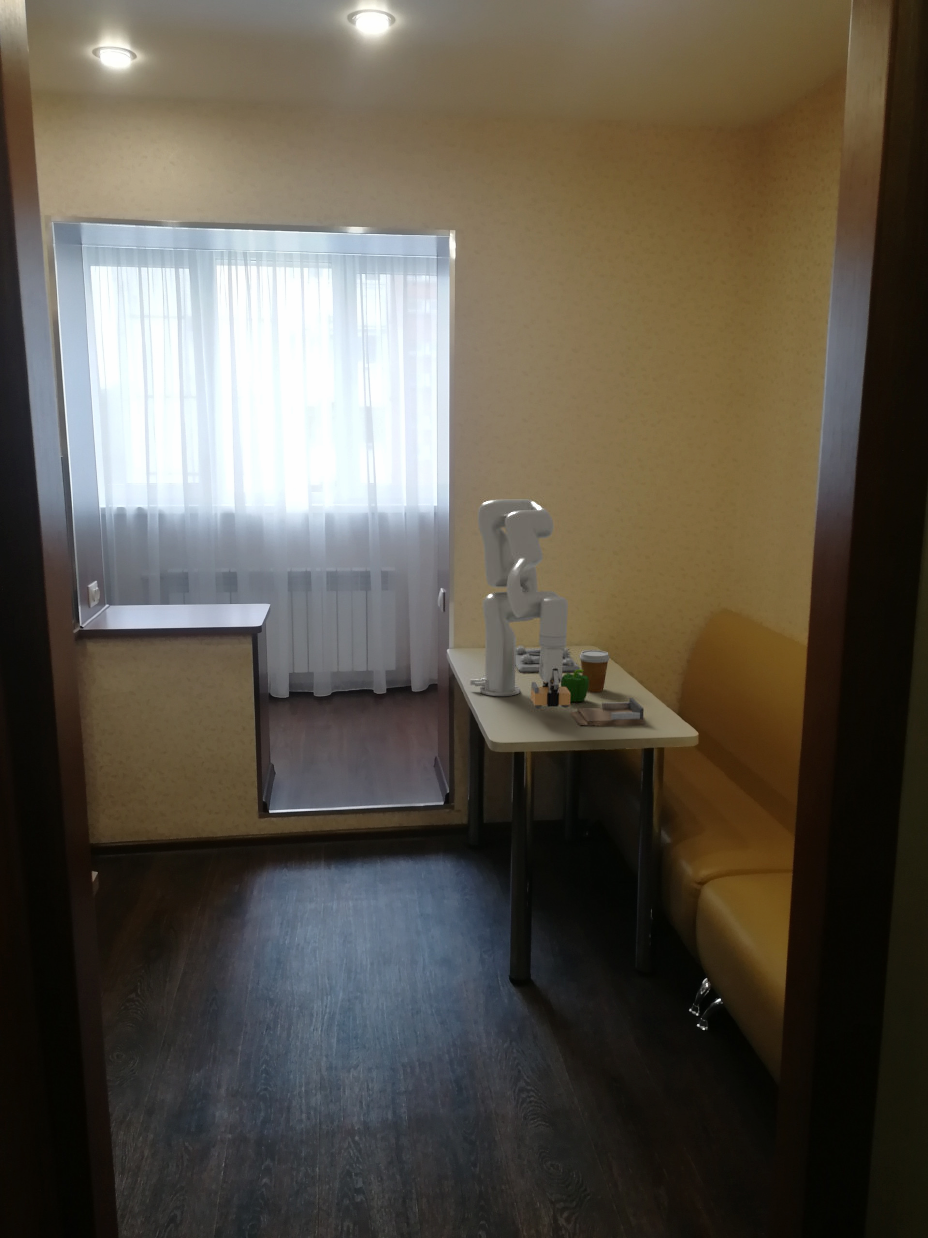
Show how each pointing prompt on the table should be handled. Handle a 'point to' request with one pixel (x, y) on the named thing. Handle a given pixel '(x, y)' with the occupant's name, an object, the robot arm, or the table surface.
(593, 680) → the disposable coffee cup
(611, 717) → the loading dock
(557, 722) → the table surface
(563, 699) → the orange block
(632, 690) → the table surface
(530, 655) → the decorative plate
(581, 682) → the bell pepper
